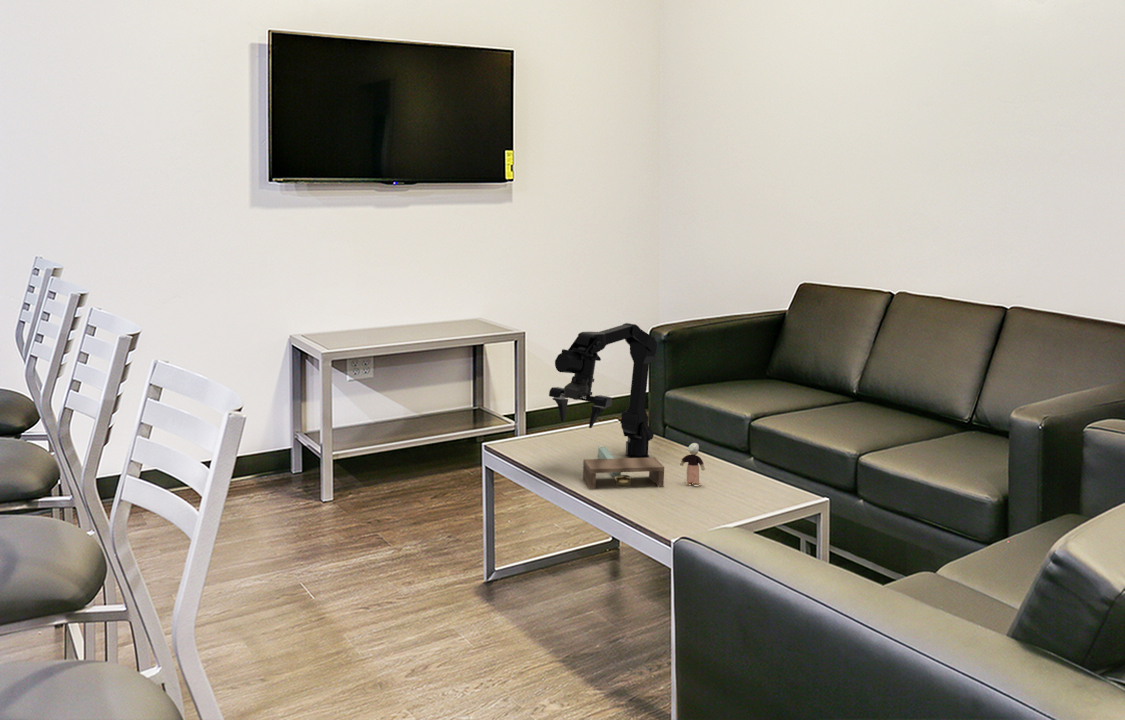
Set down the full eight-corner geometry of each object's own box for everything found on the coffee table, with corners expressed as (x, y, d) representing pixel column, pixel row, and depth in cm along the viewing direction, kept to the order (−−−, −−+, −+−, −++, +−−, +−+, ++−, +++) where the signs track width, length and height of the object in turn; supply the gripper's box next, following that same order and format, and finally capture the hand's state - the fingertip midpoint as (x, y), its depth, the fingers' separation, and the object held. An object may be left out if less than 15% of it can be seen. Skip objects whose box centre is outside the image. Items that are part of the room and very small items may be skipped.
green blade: (605, 457, 307) (605, 446, 307) (620, 477, 286) (621, 466, 285) (598, 457, 307) (598, 446, 306) (613, 477, 286) (613, 466, 285)
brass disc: (628, 480, 283) (628, 474, 282) (632, 485, 278) (632, 479, 278) (613, 481, 282) (613, 474, 281) (617, 486, 277) (617, 479, 277)
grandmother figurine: (705, 484, 281) (708, 443, 278) (703, 488, 277) (705, 446, 275) (680, 481, 283) (682, 440, 281) (677, 484, 279) (679, 443, 277)
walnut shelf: (653, 476, 287) (654, 457, 286) (663, 486, 277) (664, 467, 276) (582, 478, 283) (583, 459, 282) (590, 489, 273) (590, 469, 272)
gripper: (545, 369, 281) (537, 420, 282) (602, 379, 274) (594, 432, 275) (560, 369, 292) (552, 418, 292) (616, 379, 284) (608, 430, 285)
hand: (576, 425), depth 286 cm, fingers open, 9 cm apart
